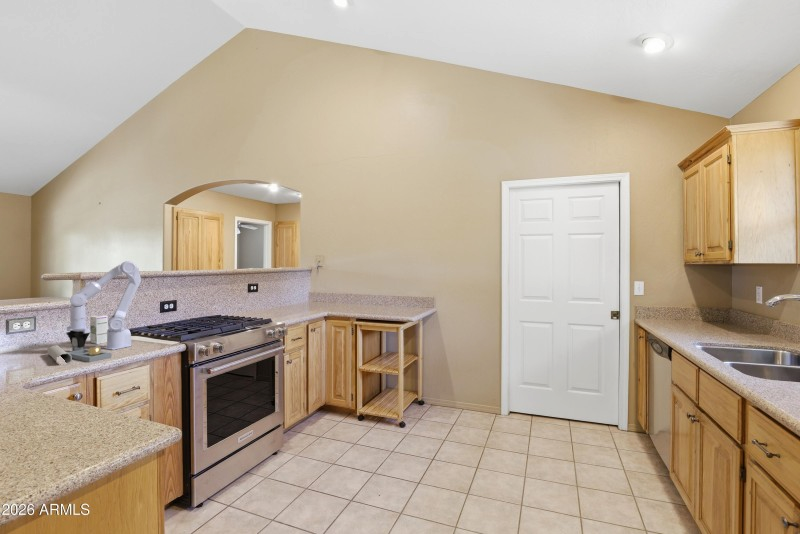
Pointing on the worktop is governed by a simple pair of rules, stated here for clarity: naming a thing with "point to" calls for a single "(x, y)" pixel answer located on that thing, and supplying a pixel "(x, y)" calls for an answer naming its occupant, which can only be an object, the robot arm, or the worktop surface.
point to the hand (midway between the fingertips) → (78, 346)
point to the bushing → (75, 344)
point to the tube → (59, 354)
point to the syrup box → (98, 328)
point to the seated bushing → (94, 351)
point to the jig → (84, 356)
